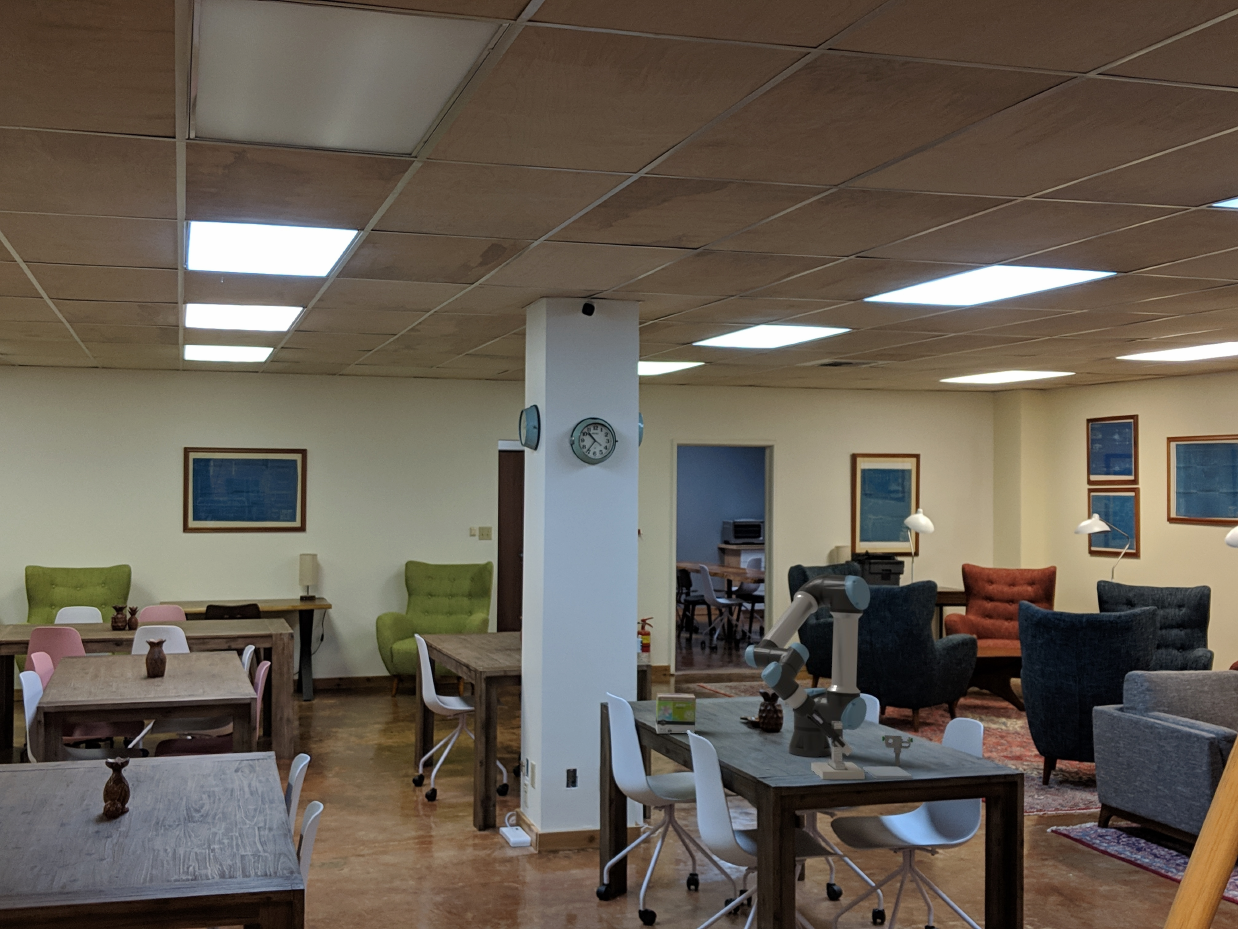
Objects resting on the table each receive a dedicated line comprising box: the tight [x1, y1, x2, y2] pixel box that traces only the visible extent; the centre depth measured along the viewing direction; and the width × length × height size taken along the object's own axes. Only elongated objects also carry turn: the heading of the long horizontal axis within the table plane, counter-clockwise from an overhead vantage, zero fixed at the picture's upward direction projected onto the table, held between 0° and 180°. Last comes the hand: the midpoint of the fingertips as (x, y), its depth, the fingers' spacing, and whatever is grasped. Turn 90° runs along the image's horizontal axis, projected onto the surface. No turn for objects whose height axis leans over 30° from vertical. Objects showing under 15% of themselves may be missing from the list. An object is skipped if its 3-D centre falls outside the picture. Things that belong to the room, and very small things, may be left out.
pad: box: [862, 766, 913, 780], centre depth 386 cm, size 14×12×1 cm
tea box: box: [655, 692, 697, 734], centre depth 456 cm, size 15×10×15 cm
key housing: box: [810, 761, 866, 780], centre depth 385 cm, size 14×14×2 cm
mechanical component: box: [881, 734, 914, 767], centre depth 400 cm, size 3×10×10 cm, turn 78°
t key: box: [828, 721, 845, 770], centre depth 385 cm, size 8×3×15 cm, turn 6°
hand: (848, 751), depth 385 cm, fingers closed on t key, 3 cm apart
